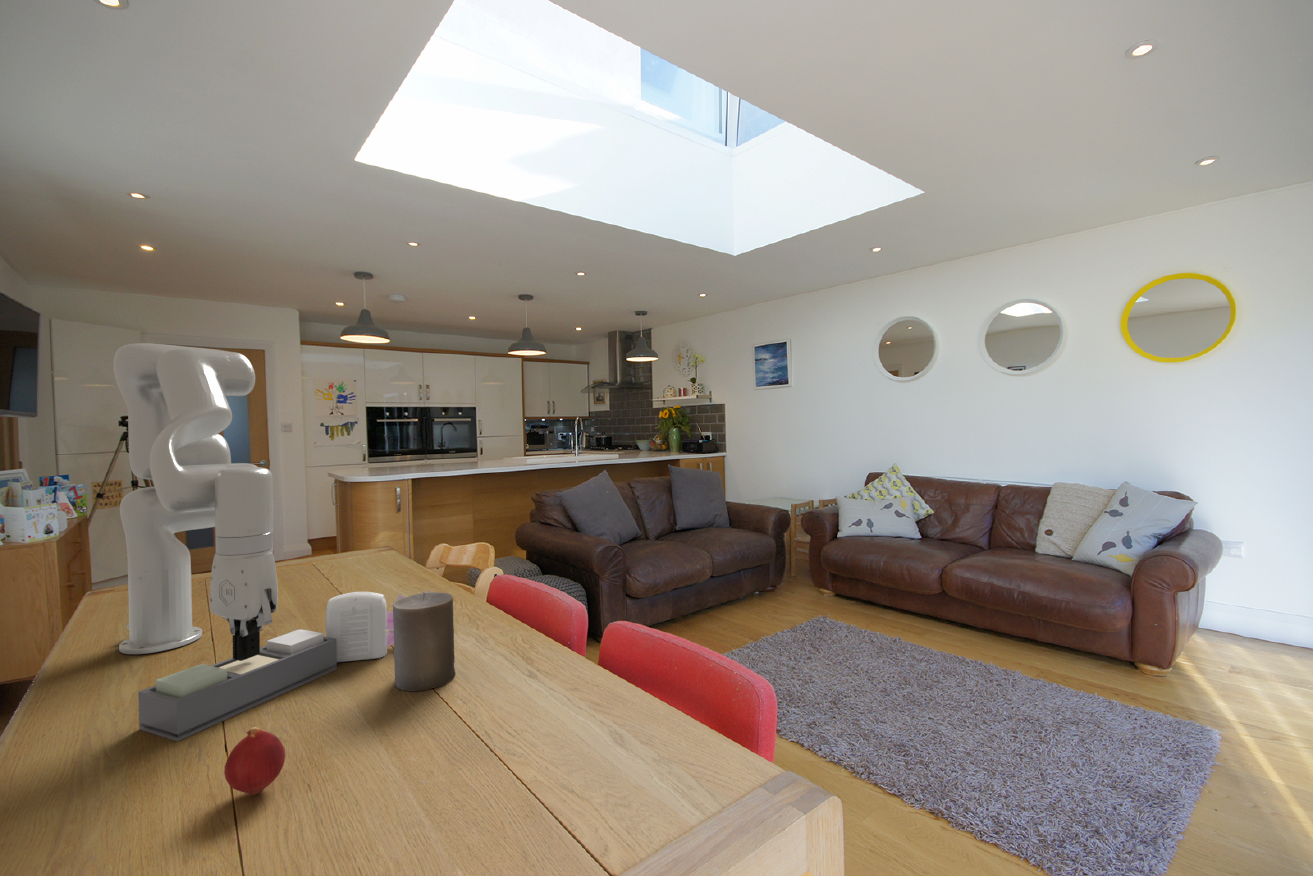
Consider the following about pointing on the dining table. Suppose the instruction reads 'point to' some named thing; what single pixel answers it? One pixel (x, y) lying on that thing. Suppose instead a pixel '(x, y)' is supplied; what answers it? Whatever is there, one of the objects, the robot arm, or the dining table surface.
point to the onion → (255, 762)
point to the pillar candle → (423, 641)
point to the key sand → (248, 664)
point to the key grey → (295, 641)
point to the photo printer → (358, 625)
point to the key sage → (190, 680)
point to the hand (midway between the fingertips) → (246, 656)
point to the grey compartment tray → (233, 692)
